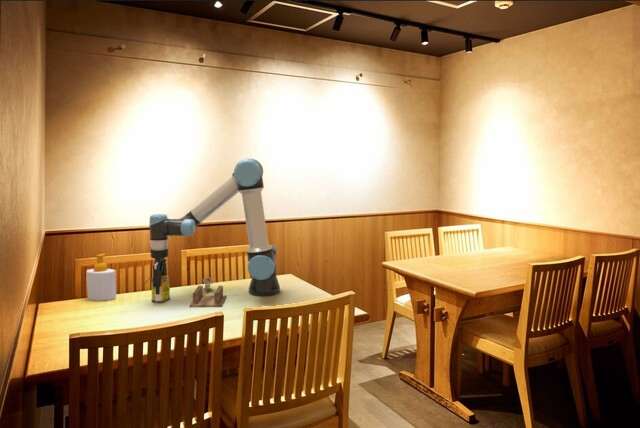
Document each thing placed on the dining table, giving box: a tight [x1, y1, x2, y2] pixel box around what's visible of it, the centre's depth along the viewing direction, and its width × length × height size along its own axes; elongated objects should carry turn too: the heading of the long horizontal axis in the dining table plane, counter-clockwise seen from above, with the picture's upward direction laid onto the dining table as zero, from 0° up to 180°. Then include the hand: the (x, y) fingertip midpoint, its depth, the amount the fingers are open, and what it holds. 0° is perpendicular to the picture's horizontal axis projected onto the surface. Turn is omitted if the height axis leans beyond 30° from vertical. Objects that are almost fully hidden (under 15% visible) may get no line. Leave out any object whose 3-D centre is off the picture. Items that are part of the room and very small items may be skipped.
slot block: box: [189, 285, 228, 308], centre depth 211 cm, size 14×14×6 cm
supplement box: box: [150, 275, 171, 303], centre depth 213 cm, size 6×6×11 cm
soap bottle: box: [86, 253, 117, 302], centre depth 215 cm, size 13×8×20 cm, turn 81°
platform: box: [202, 276, 214, 293], centre depth 230 cm, size 12×18×7 cm, turn 20°
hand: (160, 298), depth 213 cm, fingers closed on supplement box, 7 cm apart
